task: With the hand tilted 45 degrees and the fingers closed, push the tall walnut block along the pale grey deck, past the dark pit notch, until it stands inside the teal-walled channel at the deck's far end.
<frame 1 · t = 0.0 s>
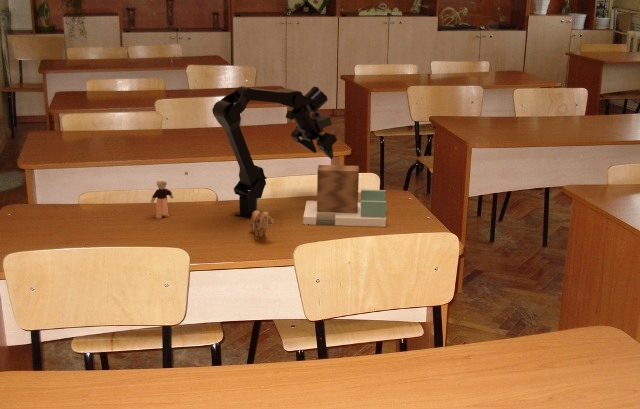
hand: (323, 155, 270), 15 cm above the table, fingers open, 9 cm apart
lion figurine: (260, 235, 239), on the table
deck: (344, 216, 255), on the table
walnut block: (337, 209, 254), point 2 cm above the table, touching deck
grandmother figurine: (163, 216, 254), on the table
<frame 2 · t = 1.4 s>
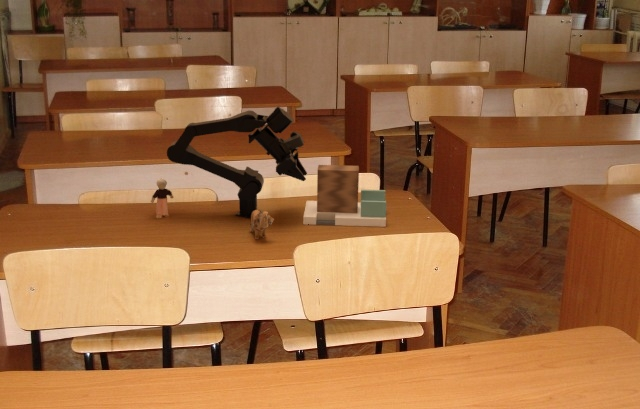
hand: (305, 177, 251), 13 cm above the table, fingers open, 6 cm apart
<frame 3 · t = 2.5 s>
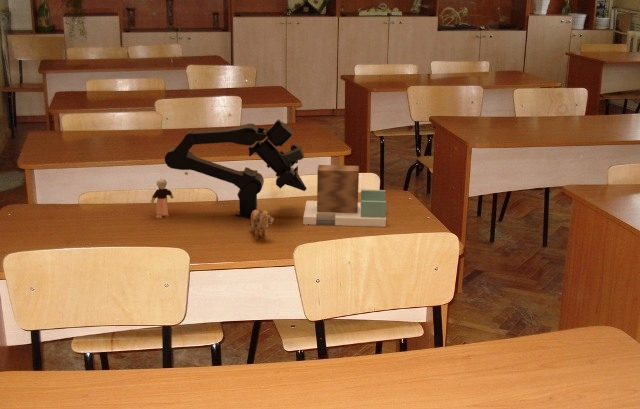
hand: (305, 189, 253), 9 cm above the table, fingers closed
nothing on the table moved.
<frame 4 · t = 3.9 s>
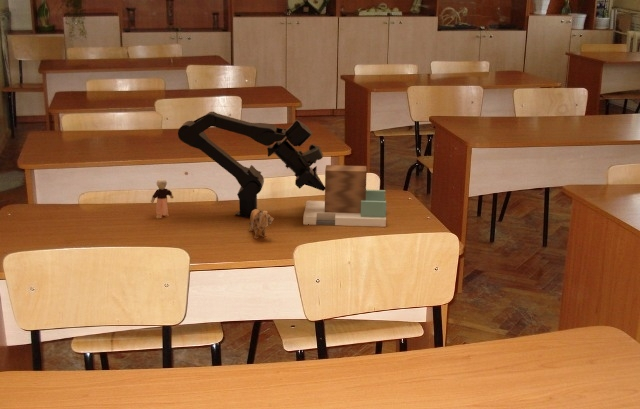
hand: (324, 189, 252), 9 cm above the table, fingers closed, pressing on walnut block
walnut block: (345, 209, 254), point 2 cm above the table, touching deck, gripper
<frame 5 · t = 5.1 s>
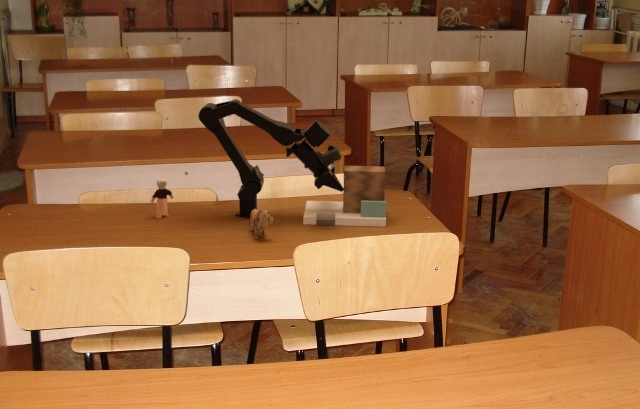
hand: (342, 190, 252), 9 cm above the table, fingers closed, pressing on walnut block
walnut block: (363, 210, 254), point 2 cm above the table, touching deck, gripper
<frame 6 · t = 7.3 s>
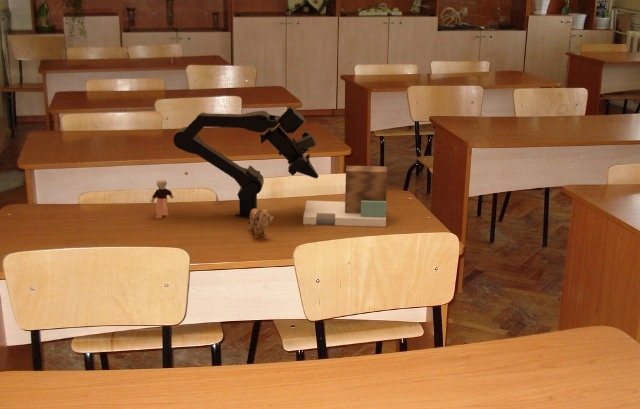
hand: (317, 177, 251), 13 cm above the table, fingers closed
walnut block: (365, 210, 254), point 2 cm above the table, touching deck
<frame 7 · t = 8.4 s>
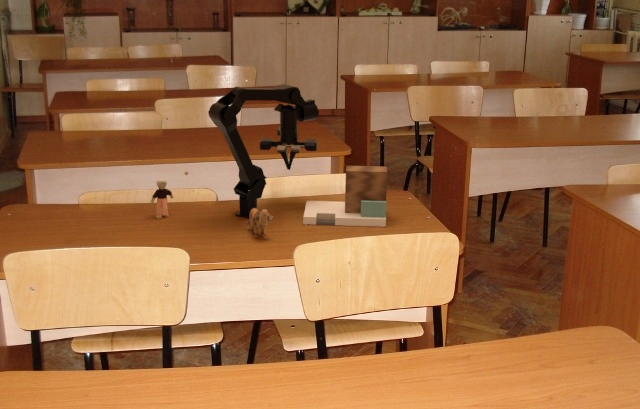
hand: (288, 169, 262), 13 cm above the table, fingers closed
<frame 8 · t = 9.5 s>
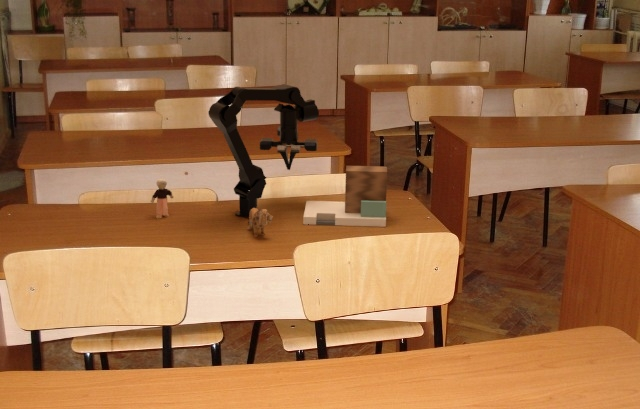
hand: (288, 169, 262), 12 cm above the table, fingers closed
at the end: walnut block inside the target area (0.8 cm from its centre), point 2.5 cm above the table; walnut block tilted 0°; walnut block moved 8.9 cm from its start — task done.
